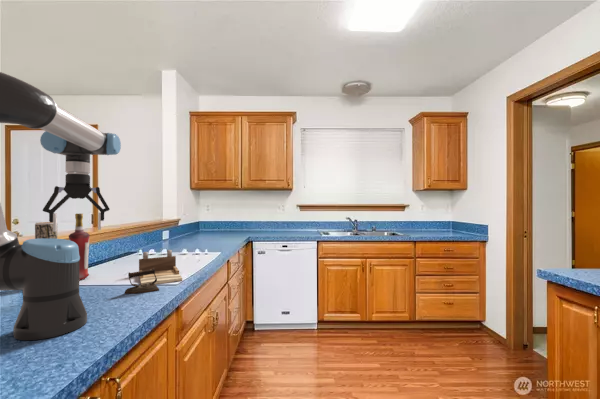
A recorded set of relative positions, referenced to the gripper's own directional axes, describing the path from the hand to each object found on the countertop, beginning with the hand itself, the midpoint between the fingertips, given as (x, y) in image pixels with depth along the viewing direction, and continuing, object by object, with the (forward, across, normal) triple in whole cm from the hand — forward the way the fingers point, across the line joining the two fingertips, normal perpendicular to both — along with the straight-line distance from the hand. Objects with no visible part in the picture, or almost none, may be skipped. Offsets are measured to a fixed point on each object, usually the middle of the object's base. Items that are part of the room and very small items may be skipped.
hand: (77, 230), depth 115 cm
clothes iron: (+23, -20, +14) cm, 33 cm away
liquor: (+22, 0, -20) cm, 30 cm away
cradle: (+22, -29, -2) cm, 36 cm away
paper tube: (+22, +11, -14) cm, 29 cm away
